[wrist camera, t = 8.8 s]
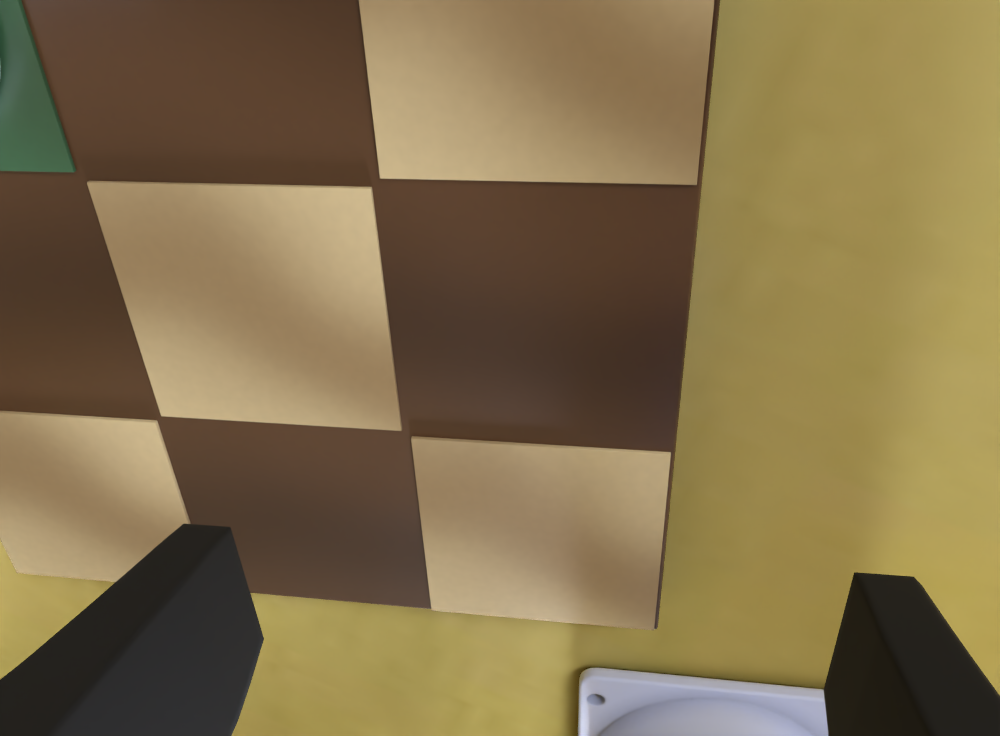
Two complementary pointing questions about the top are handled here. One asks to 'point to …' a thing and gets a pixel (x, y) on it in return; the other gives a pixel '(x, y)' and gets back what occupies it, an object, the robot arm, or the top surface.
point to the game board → (352, 292)
